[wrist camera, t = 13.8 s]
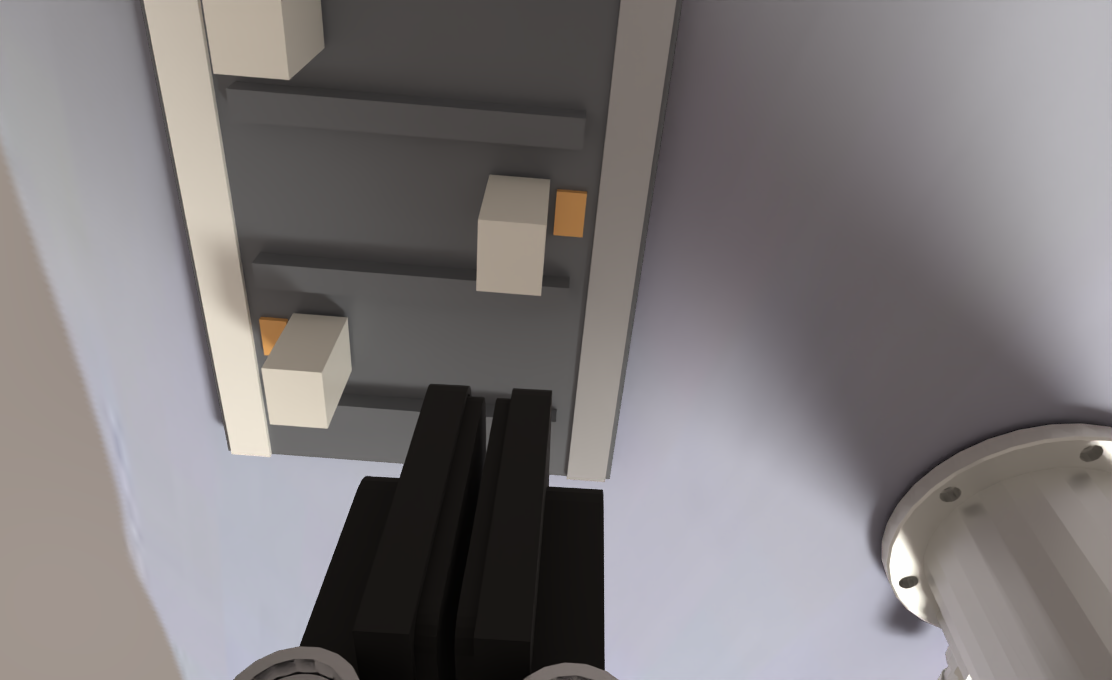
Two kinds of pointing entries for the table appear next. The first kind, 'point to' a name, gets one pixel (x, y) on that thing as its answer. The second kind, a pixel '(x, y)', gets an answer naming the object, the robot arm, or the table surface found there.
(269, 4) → the tab
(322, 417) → the tab
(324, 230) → the switch board
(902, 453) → the table surface
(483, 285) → the tab
